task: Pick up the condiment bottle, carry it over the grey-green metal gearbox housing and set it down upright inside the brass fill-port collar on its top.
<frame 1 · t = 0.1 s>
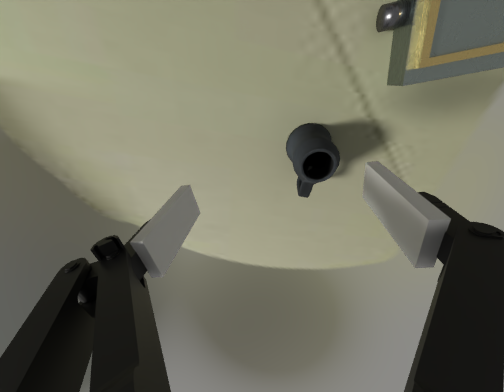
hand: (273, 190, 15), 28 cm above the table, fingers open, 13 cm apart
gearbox: (457, 3, 29), on the table
mug: (306, 152, 42), on the table
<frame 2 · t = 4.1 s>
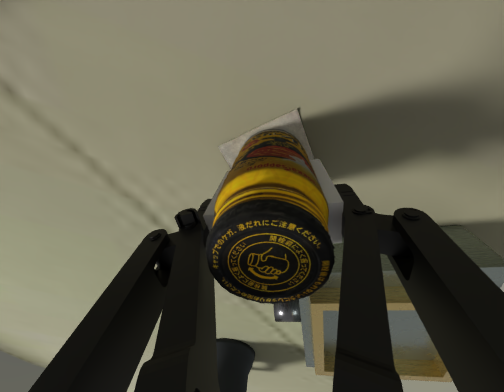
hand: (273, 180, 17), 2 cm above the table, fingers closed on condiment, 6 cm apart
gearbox: (363, 287, 25), on the table
condiment: (274, 170, 19), on the table, touching gripper
mug: (230, 353, 38), on the table
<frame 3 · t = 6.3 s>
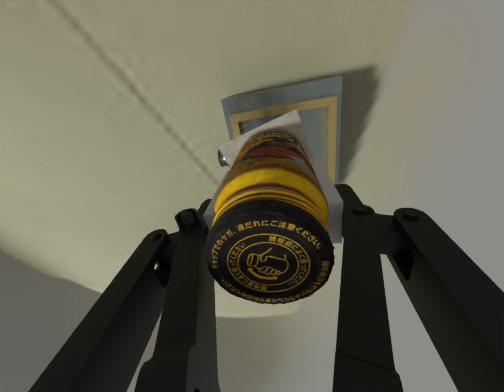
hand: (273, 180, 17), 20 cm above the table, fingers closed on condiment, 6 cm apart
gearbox: (283, 144, 35), on the table
condiment: (274, 170, 19), point 18 cm above the table, touching gripper
when the fingers open (8 cm above the table, at t = 8.9 s): condiment drops 1 cm, resting on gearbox.
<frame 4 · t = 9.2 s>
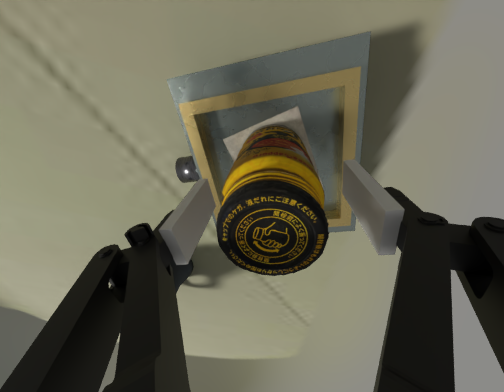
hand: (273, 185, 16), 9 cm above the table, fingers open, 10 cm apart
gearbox: (274, 150, 24), on the table
condiment: (275, 163, 20), point 5 cm above the table, touching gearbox
mug: (169, 266, 37), on the table
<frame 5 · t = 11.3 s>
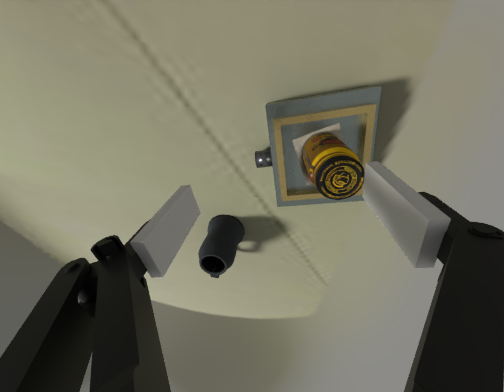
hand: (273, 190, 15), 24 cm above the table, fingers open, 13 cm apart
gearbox: (316, 148, 37), on the table
condiment: (321, 155, 33), point 5 cm above the table, touching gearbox
mug: (225, 233, 50), on the table
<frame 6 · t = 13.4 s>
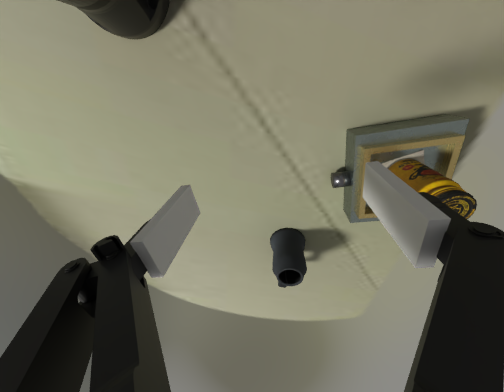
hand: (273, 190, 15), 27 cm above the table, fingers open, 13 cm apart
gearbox: (387, 168, 40), on the table
condiment: (400, 177, 36), point 5 cm above the table, touching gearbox
mug: (286, 245, 53), on the table
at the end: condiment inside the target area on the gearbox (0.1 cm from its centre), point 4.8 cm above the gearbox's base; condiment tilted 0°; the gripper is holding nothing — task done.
